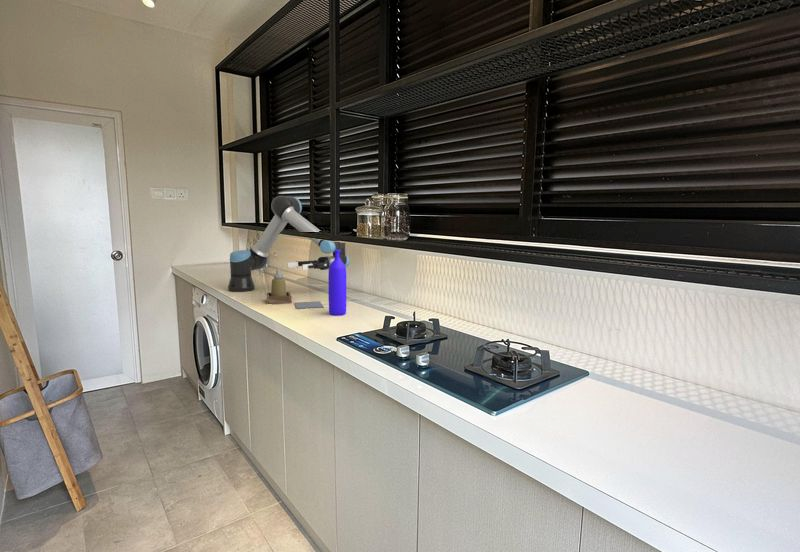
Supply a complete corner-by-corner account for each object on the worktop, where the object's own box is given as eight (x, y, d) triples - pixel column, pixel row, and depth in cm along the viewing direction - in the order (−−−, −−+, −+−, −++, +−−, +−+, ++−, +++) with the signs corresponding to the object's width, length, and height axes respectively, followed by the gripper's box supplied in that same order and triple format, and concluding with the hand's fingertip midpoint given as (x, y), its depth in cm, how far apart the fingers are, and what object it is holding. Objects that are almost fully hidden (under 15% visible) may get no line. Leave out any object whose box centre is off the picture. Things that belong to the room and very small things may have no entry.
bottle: (334, 316, 188) (334, 251, 184) (325, 313, 194) (324, 249, 190) (350, 314, 194) (350, 250, 189) (340, 310, 200) (340, 249, 195)
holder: (266, 300, 222) (266, 292, 221) (289, 298, 226) (289, 291, 225) (267, 304, 210) (267, 297, 210) (291, 303, 214) (291, 295, 214)
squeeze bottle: (268, 301, 218) (267, 267, 215) (281, 299, 224) (280, 266, 221) (276, 304, 212) (275, 269, 210) (289, 301, 218) (289, 268, 216)
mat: (294, 303, 214) (294, 302, 214) (319, 302, 218) (319, 301, 218) (296, 309, 202) (296, 307, 202) (323, 307, 206) (323, 306, 206)
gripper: (340, 271, 231) (309, 275, 215) (313, 267, 247) (282, 271, 231) (340, 258, 230) (308, 260, 214) (312, 255, 246) (281, 257, 230)
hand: (294, 266), depth 222 cm, fingers open, 13 cm apart
